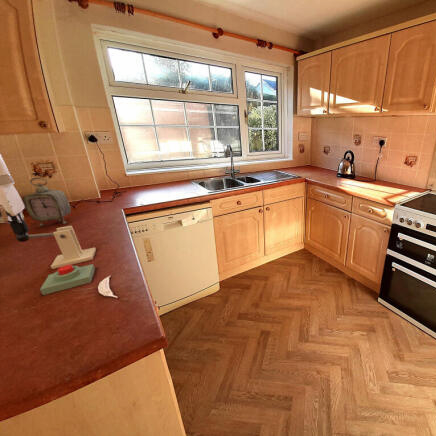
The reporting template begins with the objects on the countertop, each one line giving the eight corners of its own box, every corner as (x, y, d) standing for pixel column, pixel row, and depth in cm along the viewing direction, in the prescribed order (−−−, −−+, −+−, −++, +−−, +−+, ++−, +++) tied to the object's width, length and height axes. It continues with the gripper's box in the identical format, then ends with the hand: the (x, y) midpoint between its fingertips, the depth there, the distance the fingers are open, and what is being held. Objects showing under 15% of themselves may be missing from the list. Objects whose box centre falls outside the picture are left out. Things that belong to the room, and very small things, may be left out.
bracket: (51, 269, 89) (36, 237, 84) (58, 258, 96) (45, 228, 91) (92, 259, 94) (80, 229, 89) (96, 249, 101) (85, 221, 96)
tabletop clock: (35, 228, 125) (12, 180, 115) (47, 221, 133) (27, 176, 124) (67, 225, 127) (47, 178, 118) (77, 219, 136) (60, 174, 126)
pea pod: (97, 281, 81) (96, 277, 80) (113, 276, 83) (112, 272, 83) (100, 305, 70) (98, 301, 69) (118, 298, 72) (116, 294, 72)
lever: (15, 243, 84) (13, 235, 83) (19, 240, 86) (17, 231, 85) (69, 238, 91) (67, 230, 90) (71, 235, 93) (69, 227, 92)
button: (58, 276, 78) (56, 272, 77) (61, 271, 81) (59, 266, 80) (72, 273, 79) (70, 268, 79) (75, 267, 82) (73, 263, 82)
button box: (42, 295, 75) (37, 284, 73) (51, 280, 82) (46, 270, 81) (90, 282, 80) (86, 272, 79) (95, 269, 88) (91, 259, 86)
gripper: (-9, 178, 82) (16, 227, 89) (-36, 188, 70) (-3, 244, 77) (21, 175, 86) (43, 223, 93) (1, 184, 74) (28, 238, 81)
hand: (22, 232), depth 85 cm, fingers closed
